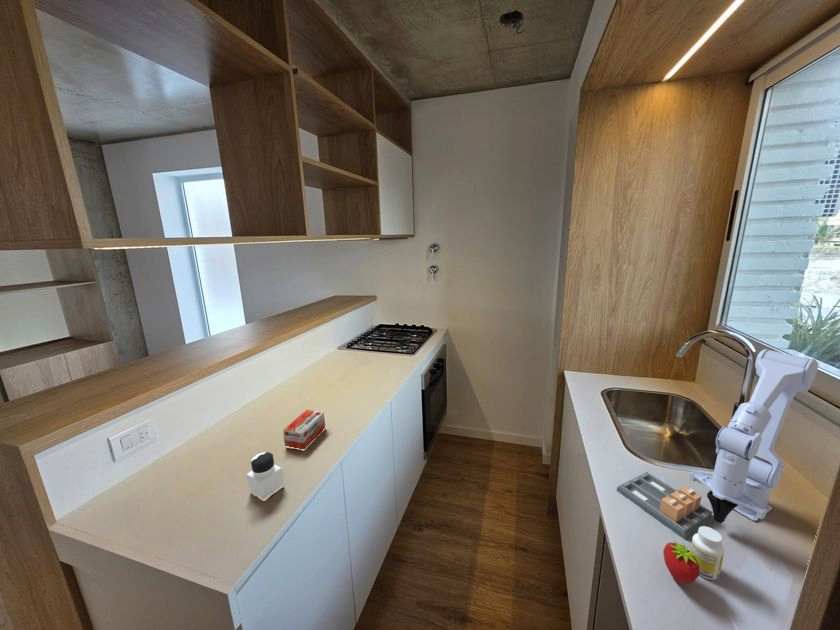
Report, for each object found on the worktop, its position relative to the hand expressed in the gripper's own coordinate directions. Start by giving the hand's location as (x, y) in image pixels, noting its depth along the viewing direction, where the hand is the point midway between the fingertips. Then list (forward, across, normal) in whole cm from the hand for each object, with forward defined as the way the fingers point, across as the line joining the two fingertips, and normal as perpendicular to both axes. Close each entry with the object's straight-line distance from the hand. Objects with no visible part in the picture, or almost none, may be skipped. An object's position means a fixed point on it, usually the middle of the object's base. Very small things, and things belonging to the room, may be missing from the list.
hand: (719, 520), depth 84 cm
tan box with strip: (+1, -7, -4) cm, 8 cm away
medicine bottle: (+3, -67, -105) cm, 125 cm away
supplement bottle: (+3, +4, -15) cm, 16 cm away
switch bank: (+3, -11, -4) cm, 12 cm away
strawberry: (+3, +3, -23) cm, 23 cm away
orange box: (+1, -7, -8) cm, 11 cm away
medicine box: (+3, -90, -91) cm, 128 cm away
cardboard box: (+1, -7, 0) cm, 7 cm away
